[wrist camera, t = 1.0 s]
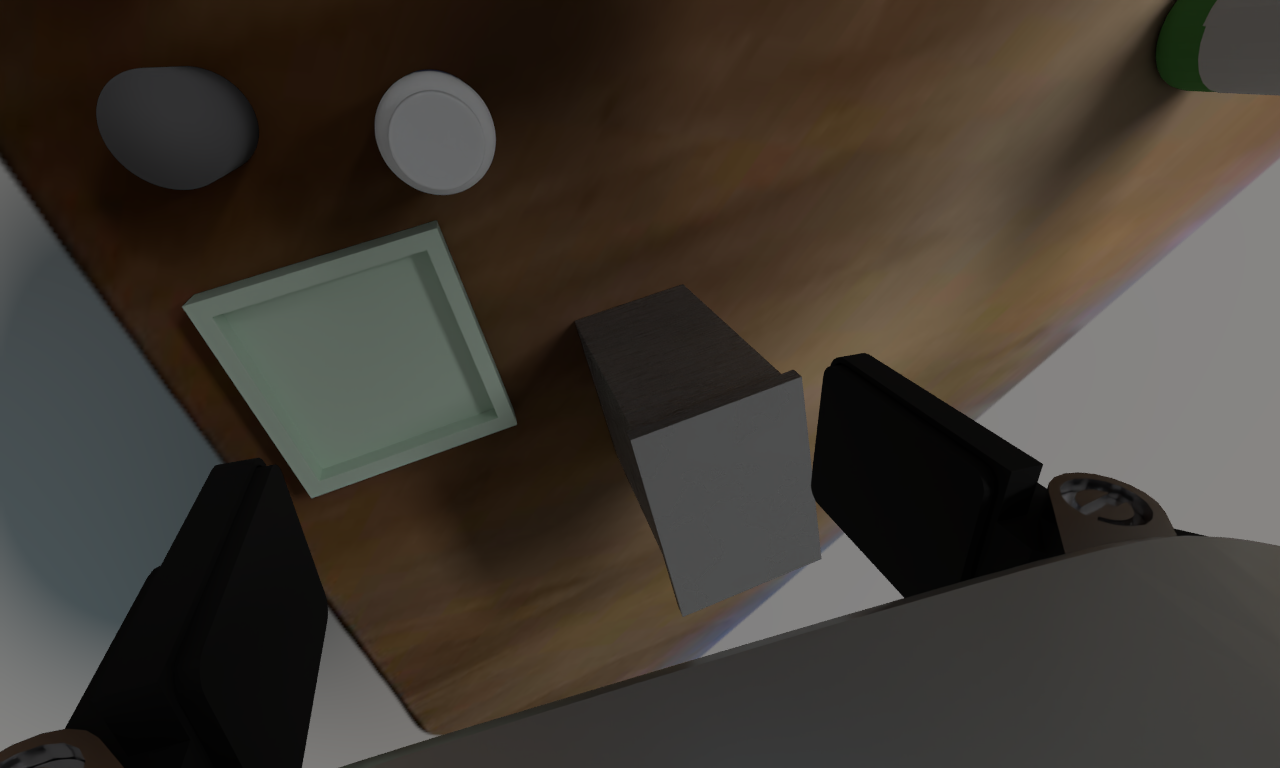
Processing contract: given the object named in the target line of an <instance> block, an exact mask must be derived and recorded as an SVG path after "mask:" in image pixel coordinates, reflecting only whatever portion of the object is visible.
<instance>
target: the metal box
mask: <svg viewBox="0 0 1280 768" xmlns="http://www.w3.org/2000/svg"><path fill="white" fill-rule="evenodd" d="M575 324H576V327H577V330H578V333H579V337H580V340H581V343H582V346H583V349H584V353H585V356H586V359H587V362H588V365H589V368H590V372H591V375H592V378H593V381H594V384H595V387H596V391H597V394H598V397H599V400H600V403H601V406H602V410H603V413H604V416H605V419H606V422H607V425H608V429H609V432H610V435H611V438H612V441H613V444H614V448H615V451H616V454H617V457H618V459H619V461H620V463H621V466H622V468H623V470H624V472H625V474H626V476H627V479H628V481H629V483H630V485H631V487H632V489H633V492H634V494H635V496H636V498H637V500H638V502H639V505H640V507H641V509H642V511H643V513H644V515H645V518H646V520H647V522H648V524H649V526H650V528H651V531H652V533H653V535H654V537H655V539H656V541H657V544H658V546H659V548H660V550H661V552H662V554H663V557H664V561H665V564H666V567H667V571H668V574H669V578H670V581H671V584H672V588H673V591H674V594H675V598H676V601H677V604H678V607H679V609H680V612H681V614H682V616H683V617H684V616H686V615H688V614H691V613H693V612H696V611H698V610H700V609H703V608H705V607H708V606H710V605H712V604H715V603H717V602H720V601H722V600H724V599H727V598H729V597H731V596H734V595H736V594H739V593H741V592H743V591H746V590H748V589H751V588H753V587H755V586H758V585H760V584H763V583H765V582H767V581H770V580H772V579H775V578H777V577H779V576H782V575H784V574H787V573H789V572H791V571H794V570H796V569H798V568H801V567H803V566H806V565H808V564H810V563H813V562H815V561H818V560H820V559H821V551H820V542H819V532H818V523H817V514H816V505H815V499H814V497H813V494H812V490H811V478H812V468H811V458H810V449H809V440H808V431H807V421H806V412H805V403H804V393H803V384H802V377H801V376H800V375H799V374H798V373H797V372H796V371H795V370H791V371H788V372H786V373H783V374H781V373H780V372H779V371H778V370H776V369H775V368H774V367H773V366H772V365H771V364H770V363H769V362H768V361H767V360H766V359H764V358H763V357H762V356H761V355H760V354H759V353H758V352H757V351H756V350H755V349H753V348H752V347H751V346H750V345H749V344H748V343H747V342H746V341H745V340H744V339H742V338H741V337H740V336H739V335H738V334H737V333H736V332H735V331H734V330H733V329H732V328H730V327H729V326H728V325H727V324H726V323H725V322H724V321H723V320H722V319H721V318H719V317H718V316H717V315H716V314H715V313H714V312H713V311H712V310H711V309H710V308H709V307H707V306H706V305H705V304H704V303H703V302H702V301H701V300H700V299H699V298H698V297H696V296H695V295H694V294H693V293H692V292H691V291H690V290H689V289H688V288H687V287H685V286H684V285H683V284H682V285H679V286H676V287H673V288H670V289H667V290H664V291H662V292H659V293H656V294H653V295H650V296H647V297H644V298H641V299H638V300H635V301H632V302H629V303H626V304H623V305H620V306H617V307H614V308H612V309H609V310H606V311H603V312H600V313H597V314H594V315H591V316H588V317H585V318H582V319H579V320H576V321H575Z"/></svg>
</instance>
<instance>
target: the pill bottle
mask: <svg viewBox="0 0 1280 768" xmlns="http://www.w3.org/2000/svg"><path fill="white" fill-rule="evenodd" d="M375 137H376V141H377V145H378V148H379V151H380V153H381V155H382V157H383V159H384V161H385V162H386V164H387V165H388V167H389V168H390V169H391V170H392V171H393V173H394V174H396V175H397V176H398V177H399V178H400V179H401V180H402V181H404V182H405V183H407V184H408V185H410V186H412V187H413V188H415V189H417V190H420V191H422V192H425V193H429V194H435V195H449V194H455V193H459V192H462V191H464V190H466V189H468V188H470V187H472V186H473V185H475V184H476V183H477V182H478V181H479V180H480V179H481V178H482V177H483V176H484V175H485V173H486V172H487V170H488V169H489V167H490V165H491V162H492V160H493V157H494V152H495V146H496V134H495V127H494V123H493V120H492V117H491V114H490V112H489V110H488V108H487V106H486V104H485V103H484V101H483V100H482V99H481V97H480V96H479V95H478V94H477V93H476V91H474V90H473V89H472V88H471V87H470V86H469V85H467V84H466V83H465V82H463V81H462V80H460V79H459V78H457V77H456V76H454V75H452V74H449V73H447V72H444V71H439V70H431V69H430V70H419V71H415V72H412V73H410V74H408V75H406V76H404V77H403V78H401V79H399V80H398V81H396V82H395V83H394V84H392V86H391V87H390V88H389V89H388V90H387V91H386V92H385V94H384V95H383V97H382V99H381V101H380V103H379V105H378V108H377V111H376V116H375Z"/></svg>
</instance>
